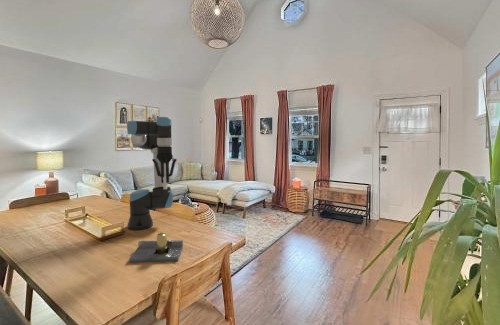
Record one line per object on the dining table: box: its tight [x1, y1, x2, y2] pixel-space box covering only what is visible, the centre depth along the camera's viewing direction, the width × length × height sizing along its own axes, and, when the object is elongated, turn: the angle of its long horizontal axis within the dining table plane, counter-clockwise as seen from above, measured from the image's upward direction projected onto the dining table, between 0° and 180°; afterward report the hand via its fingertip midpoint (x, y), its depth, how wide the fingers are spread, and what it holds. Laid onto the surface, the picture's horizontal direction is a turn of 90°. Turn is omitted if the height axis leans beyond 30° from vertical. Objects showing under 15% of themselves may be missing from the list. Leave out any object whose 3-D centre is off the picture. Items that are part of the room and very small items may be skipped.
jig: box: [128, 239, 184, 263], centre depth 126 cm, size 22×14×4 cm, turn 95°
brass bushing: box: [156, 232, 167, 254], centre depth 126 cm, size 4×4×10 cm
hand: (165, 188), depth 141 cm, fingers closed
